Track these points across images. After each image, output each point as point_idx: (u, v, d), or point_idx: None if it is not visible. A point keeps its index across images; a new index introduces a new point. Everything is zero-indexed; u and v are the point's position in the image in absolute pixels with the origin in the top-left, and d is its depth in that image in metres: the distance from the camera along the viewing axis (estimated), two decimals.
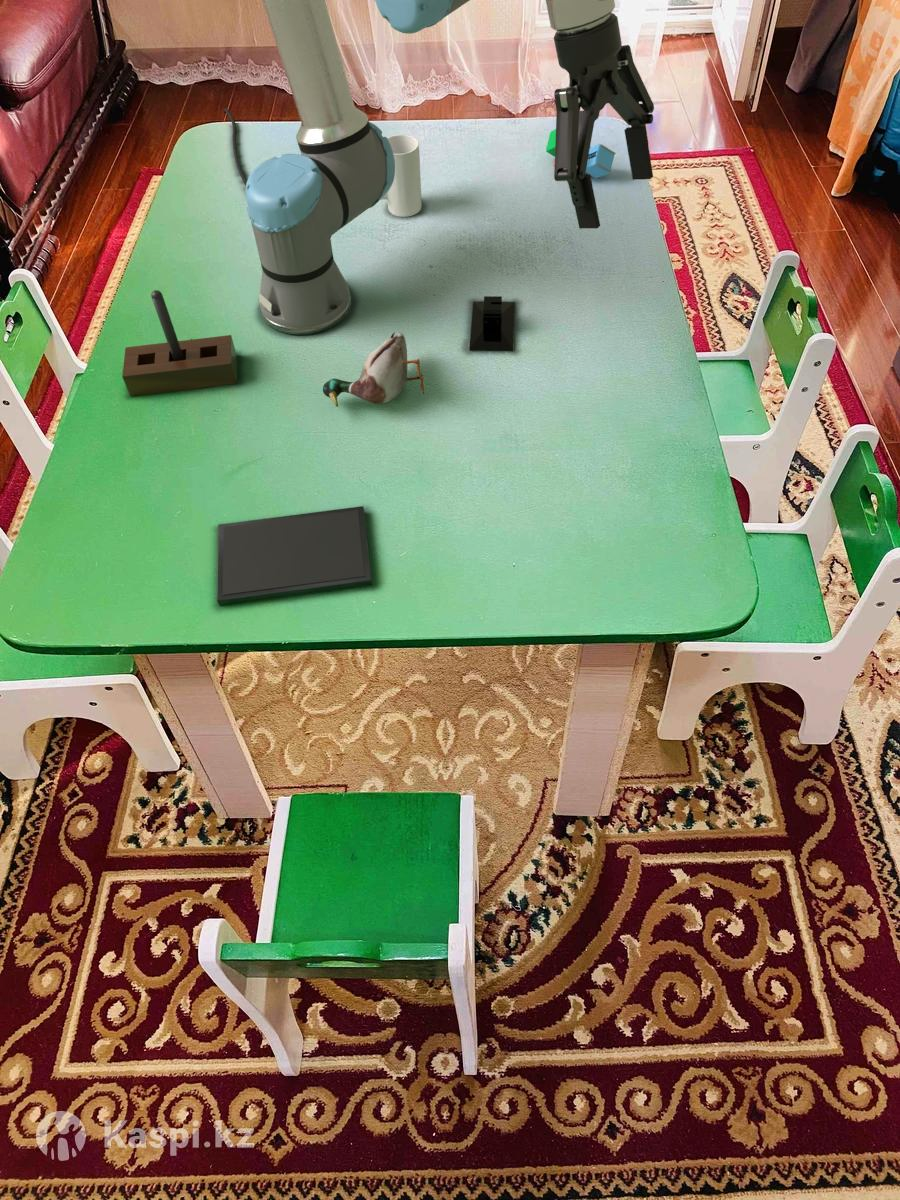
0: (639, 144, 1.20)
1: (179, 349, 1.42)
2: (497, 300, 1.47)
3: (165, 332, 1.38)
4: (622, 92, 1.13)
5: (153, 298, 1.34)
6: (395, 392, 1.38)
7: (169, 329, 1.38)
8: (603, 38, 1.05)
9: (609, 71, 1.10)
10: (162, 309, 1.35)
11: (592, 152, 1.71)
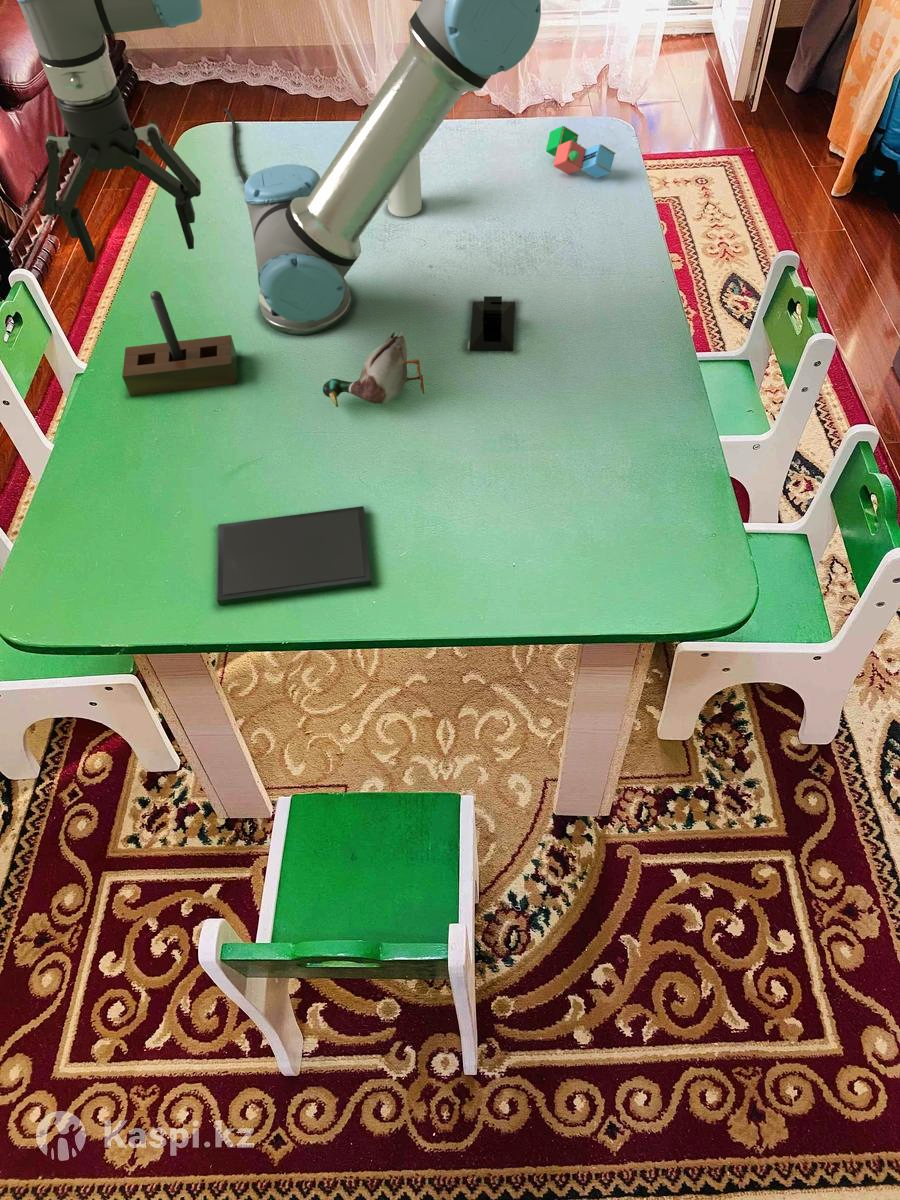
0: None
1: (179, 349, 1.41)
2: (497, 300, 1.47)
3: (165, 332, 1.38)
4: (133, 167, 1.16)
5: (152, 299, 1.33)
6: (395, 392, 1.38)
7: (169, 329, 1.38)
8: (74, 119, 1.09)
9: (111, 145, 1.14)
10: (161, 310, 1.35)
11: (592, 152, 1.71)
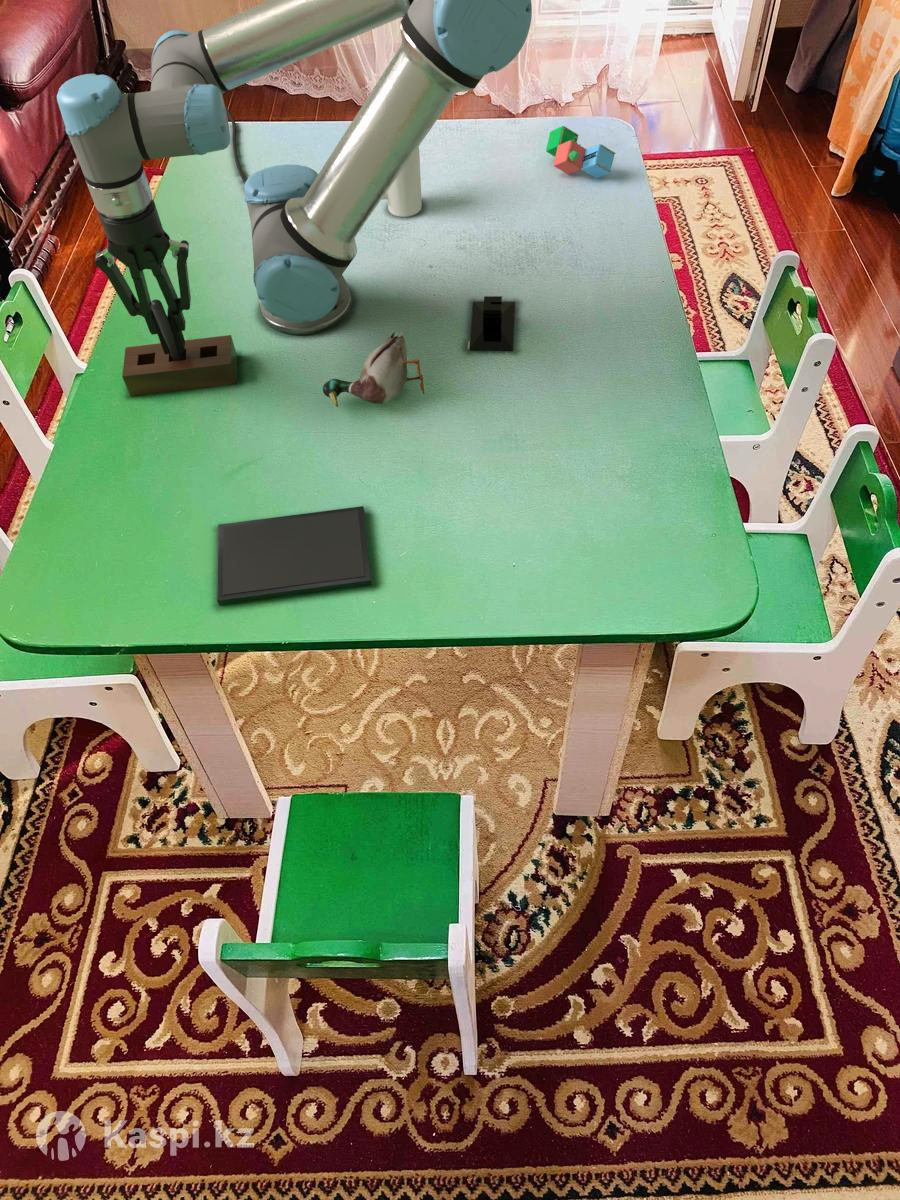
0: None
1: None
2: (497, 300, 1.47)
3: (165, 338, 1.38)
4: (153, 272, 1.29)
5: (153, 308, 1.33)
6: (395, 392, 1.38)
7: (169, 335, 1.37)
8: (113, 230, 1.22)
9: (148, 249, 1.26)
10: (162, 318, 1.34)
11: (592, 152, 1.71)
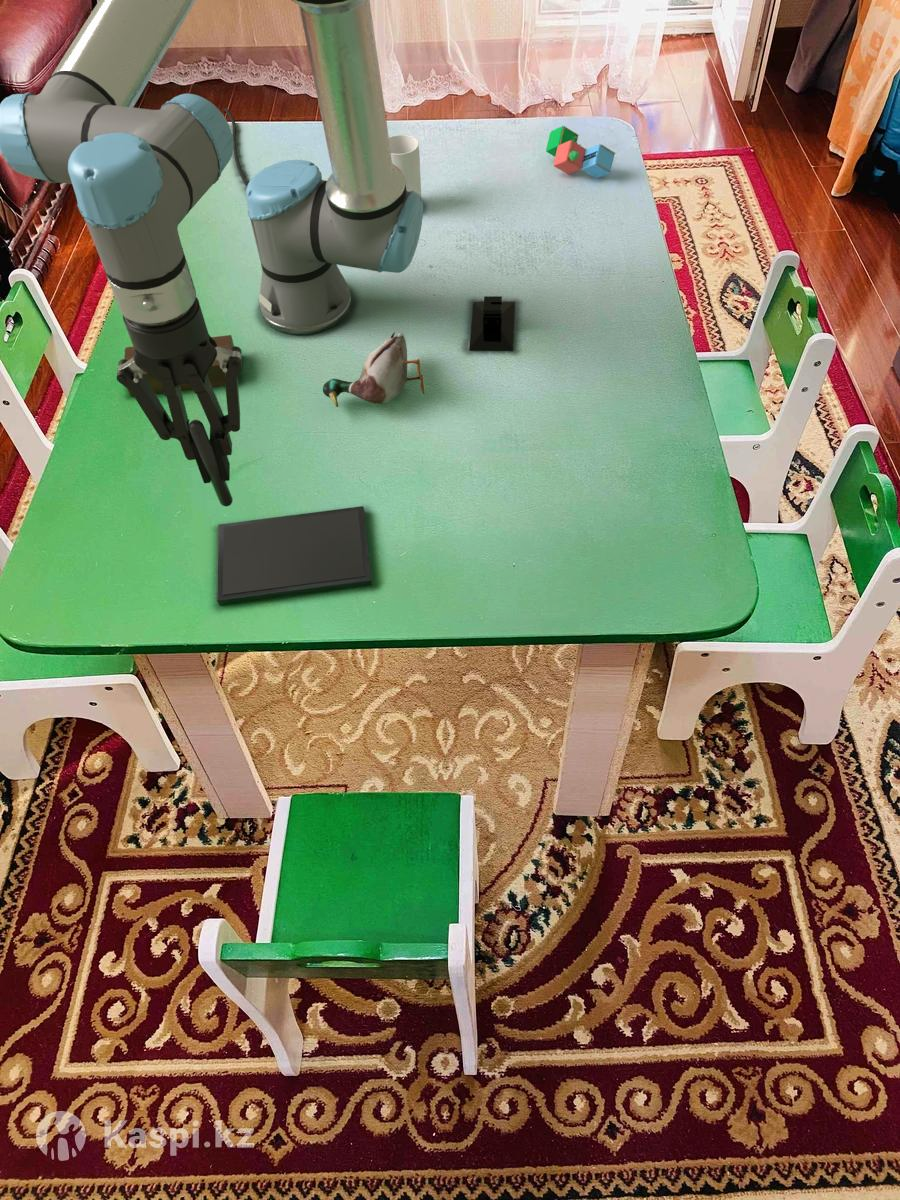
0: None
1: (222, 480, 1.09)
2: (497, 300, 1.47)
3: (206, 465, 1.06)
4: (194, 389, 0.97)
5: (192, 431, 1.00)
6: (395, 392, 1.38)
7: (211, 462, 1.05)
8: (143, 340, 0.89)
9: (189, 361, 0.94)
10: (203, 442, 1.02)
11: (592, 152, 1.71)
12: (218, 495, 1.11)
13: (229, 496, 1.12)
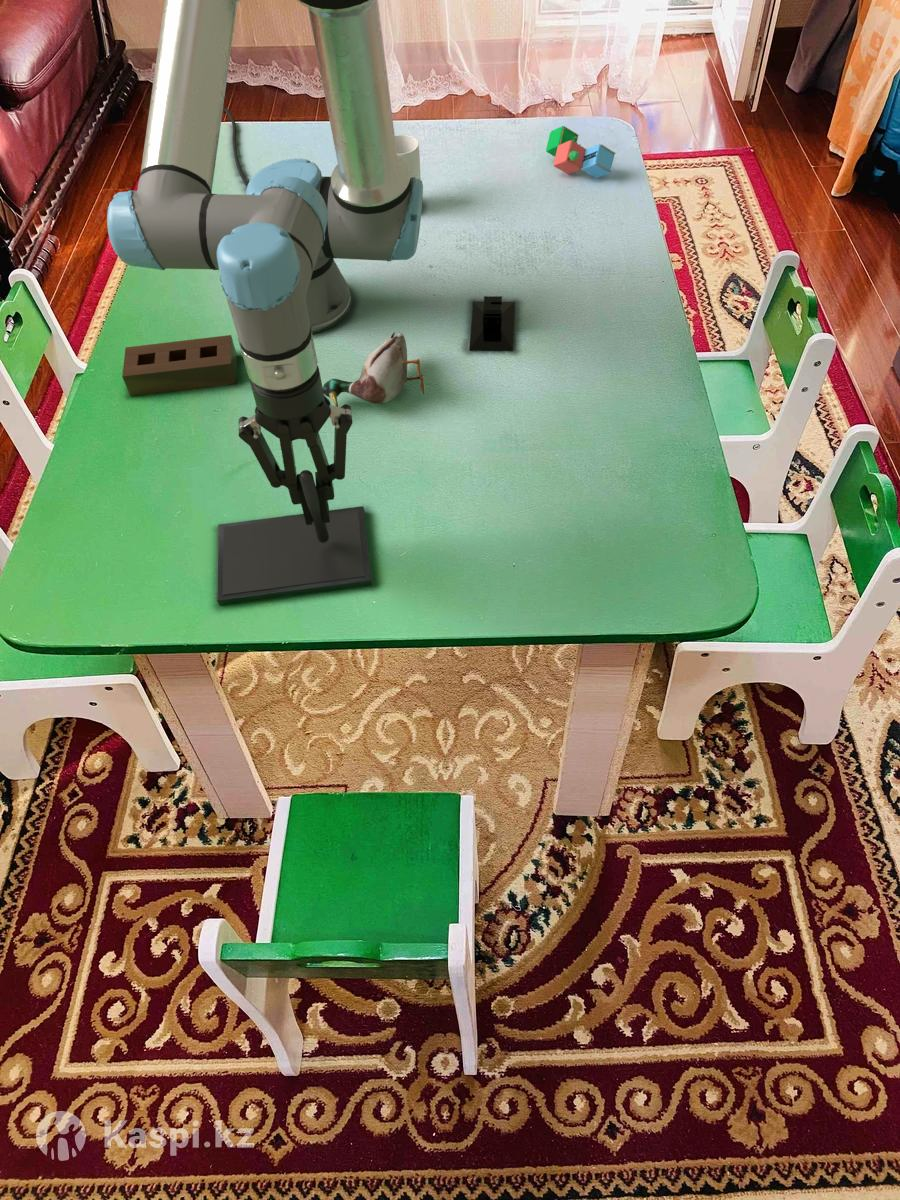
0: None
1: (323, 520, 1.17)
2: (497, 300, 1.47)
3: (310, 508, 1.14)
4: (307, 443, 1.05)
5: (302, 481, 1.08)
6: (395, 392, 1.38)
7: (316, 506, 1.13)
8: (270, 404, 0.98)
9: (306, 419, 1.02)
10: (311, 490, 1.10)
11: (592, 152, 1.71)
12: (317, 533, 1.19)
13: (327, 534, 1.20)
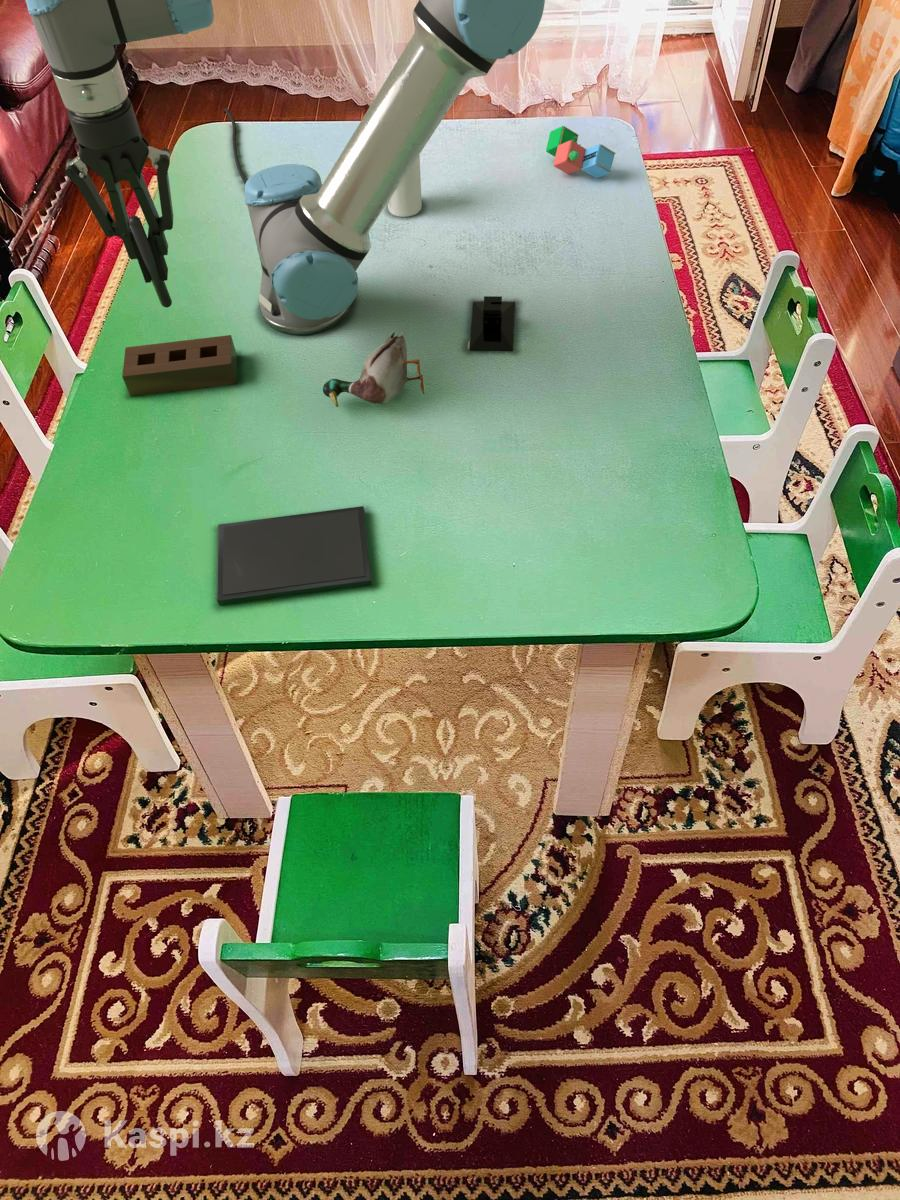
0: None
1: None
2: (497, 300, 1.47)
3: (145, 261, 1.24)
4: (130, 184, 1.16)
5: (131, 225, 1.19)
6: (395, 392, 1.38)
7: (149, 258, 1.24)
8: (84, 131, 1.08)
9: (125, 156, 1.13)
10: (141, 237, 1.21)
11: (592, 152, 1.71)
12: (158, 295, 1.30)
13: (168, 297, 1.31)
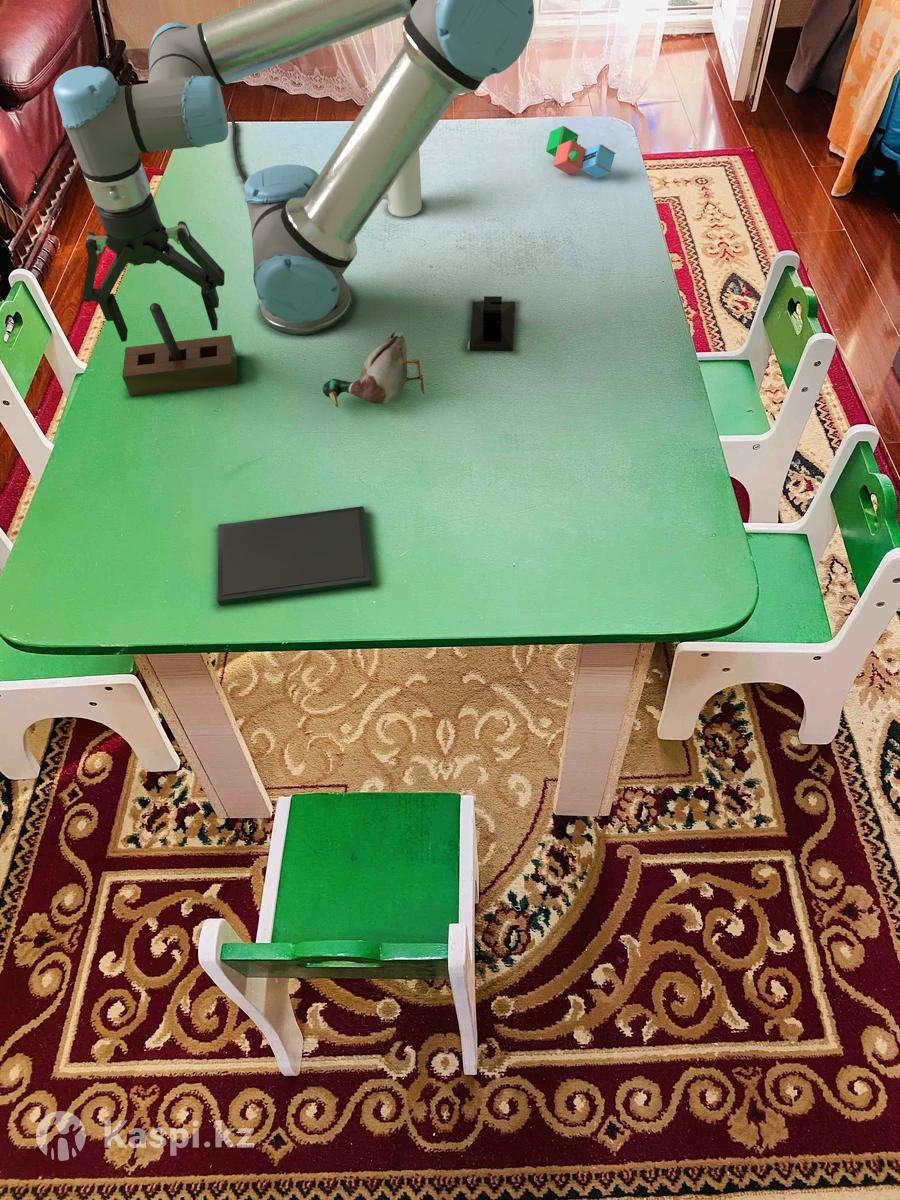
0: None
1: (178, 353, 1.41)
2: (497, 300, 1.47)
3: (164, 340, 1.38)
4: (163, 262, 1.28)
5: (152, 312, 1.32)
6: (395, 392, 1.38)
7: (168, 337, 1.37)
8: (111, 224, 1.21)
9: (144, 243, 1.26)
10: (161, 321, 1.34)
11: (592, 152, 1.71)
12: None
13: None
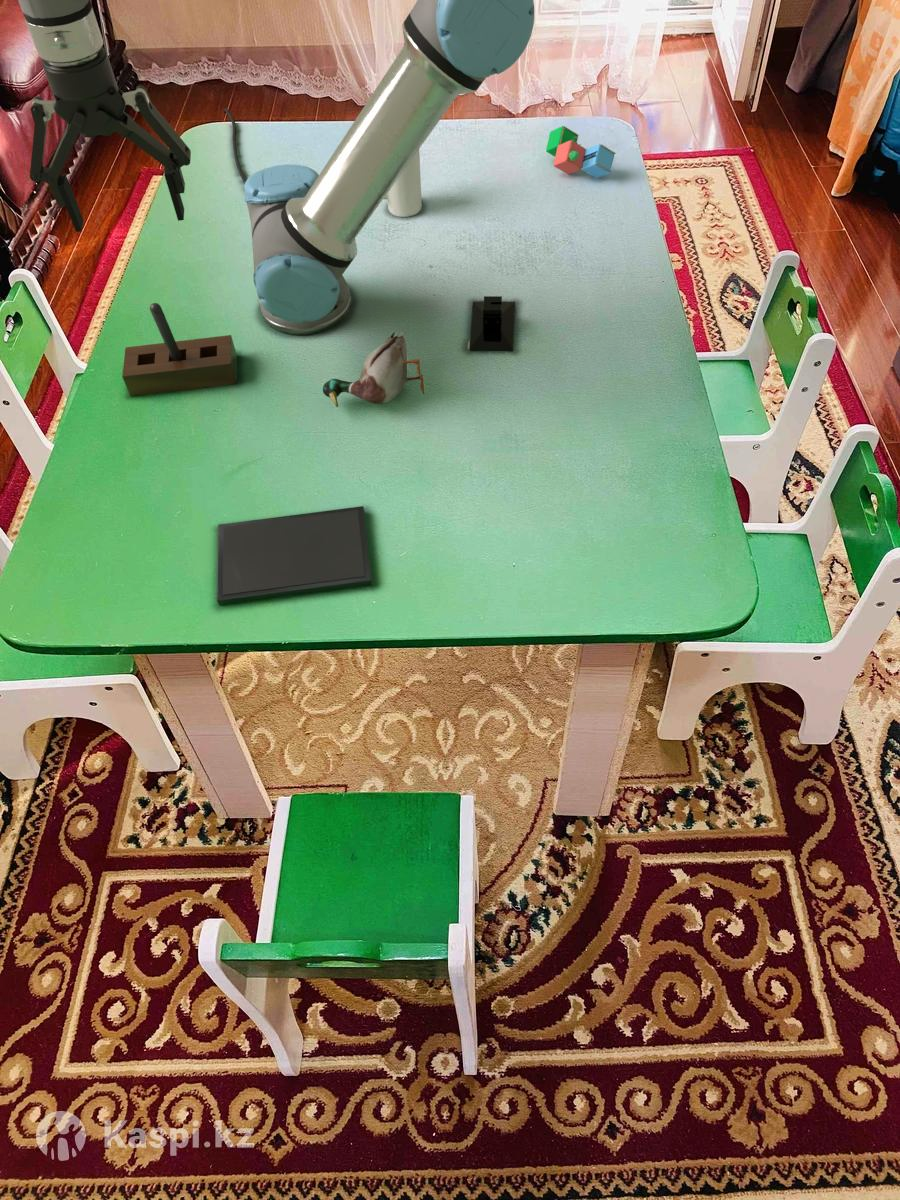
0: None
1: (178, 353, 1.41)
2: (497, 300, 1.47)
3: (164, 340, 1.38)
4: (120, 133, 1.14)
5: (152, 312, 1.32)
6: (395, 392, 1.38)
7: (168, 337, 1.37)
8: (58, 81, 1.06)
9: (98, 109, 1.11)
10: (161, 321, 1.34)
11: (592, 152, 1.71)
12: None
13: None
